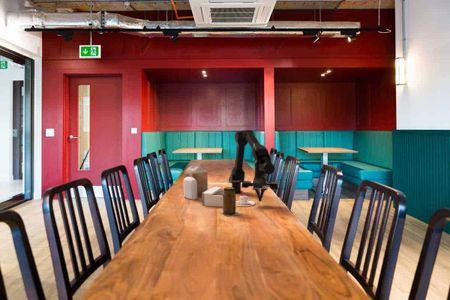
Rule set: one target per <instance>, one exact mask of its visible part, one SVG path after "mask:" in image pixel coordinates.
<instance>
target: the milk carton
mask: <svg viewBox="0 0 450 300" xmlns="http://www.w3.org/2000/svg"><path fill="white" fill-rule="evenodd" d="M183 173H184V174H183V179H184V178H186V177H192V178H194V179H195V180H196V181H197V197H199V196H200V195H201V196H202V193H203V192H205V191H207V190H208V189H209V188H208V185H209V181H208V178H209V177H208V176H209V175H208V170H207V169H205V168H203V167H201V165H200V163H193V162H191V163H190V166H188V167H187V168H186V169H185V170H184V171H183Z"/></svg>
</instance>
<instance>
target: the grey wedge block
mask: <svg viewBox="0 0 450 300" xmlns="http://www.w3.org/2000/svg"><path fill="white" fill-rule="evenodd" d="M223 194H224V188H222V187H220V186H213V187H210V188H208V190H207V191H205V192H203V193H202V195H201V206H207V207H220V208H223Z"/></svg>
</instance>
